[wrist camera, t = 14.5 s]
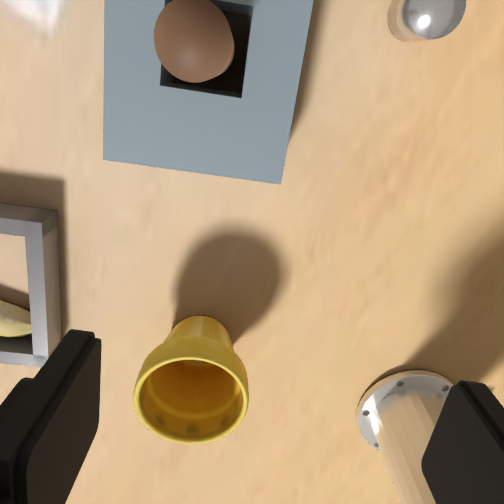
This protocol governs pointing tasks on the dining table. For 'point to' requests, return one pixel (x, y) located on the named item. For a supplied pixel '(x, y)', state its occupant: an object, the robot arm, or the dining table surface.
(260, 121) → the hole block
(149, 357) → the plant pot
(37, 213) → the tray
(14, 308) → the fruit
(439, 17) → the short steel pin
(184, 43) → the long walnut pin
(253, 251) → the dining table surface
